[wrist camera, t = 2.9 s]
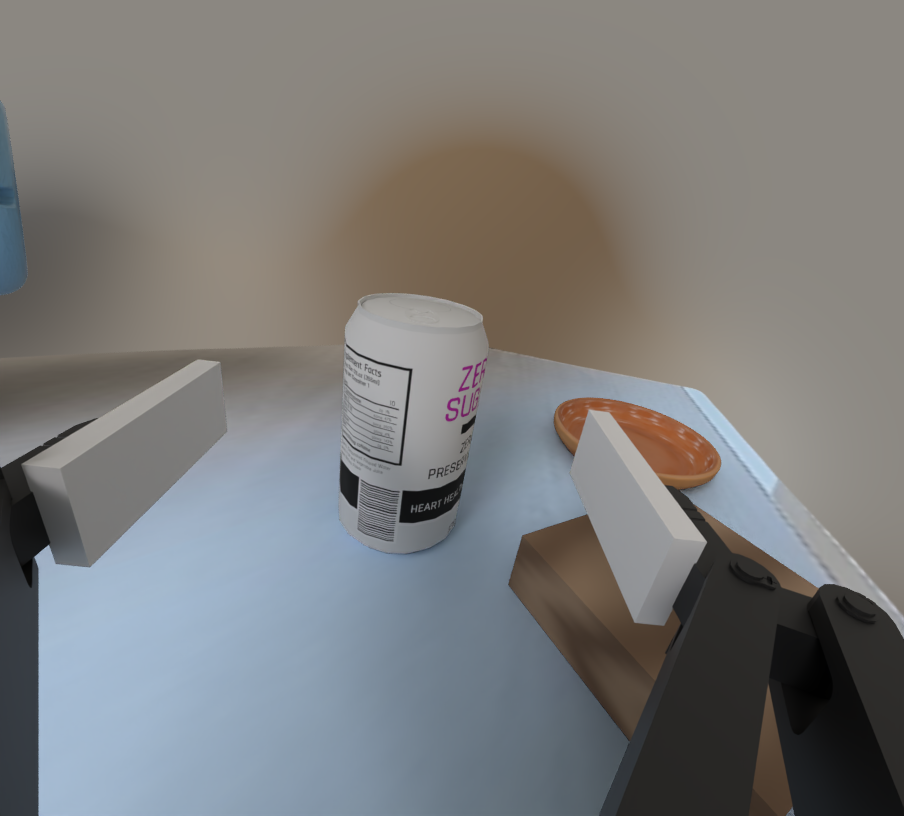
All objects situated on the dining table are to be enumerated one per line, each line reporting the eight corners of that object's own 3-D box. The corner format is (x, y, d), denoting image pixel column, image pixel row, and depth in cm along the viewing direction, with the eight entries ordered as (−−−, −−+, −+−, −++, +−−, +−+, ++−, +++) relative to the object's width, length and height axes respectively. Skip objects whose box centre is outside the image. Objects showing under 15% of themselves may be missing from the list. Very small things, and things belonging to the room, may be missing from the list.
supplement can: (345, 479, 33) (354, 284, 27) (449, 485, 35) (482, 301, 28) (328, 559, 26) (335, 319, 20) (461, 563, 27) (508, 339, 21)
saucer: (574, 405, 54) (581, 384, 53) (712, 455, 47) (724, 432, 46) (524, 454, 41) (531, 428, 40) (704, 532, 34) (719, 503, 33)
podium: (508, 584, 26) (522, 535, 25) (650, 528, 33) (669, 487, 32) (729, 870, 16) (782, 820, 14) (869, 701, 23) (915, 653, 21)
